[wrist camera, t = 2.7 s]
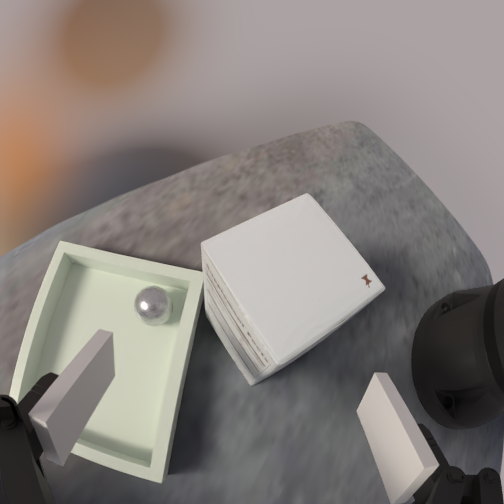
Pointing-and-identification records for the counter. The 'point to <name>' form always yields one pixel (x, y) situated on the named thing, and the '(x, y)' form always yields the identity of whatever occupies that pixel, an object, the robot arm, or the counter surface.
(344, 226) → the counter surface
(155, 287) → the ball
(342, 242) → the supplement box
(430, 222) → the counter surface
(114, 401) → the tray
